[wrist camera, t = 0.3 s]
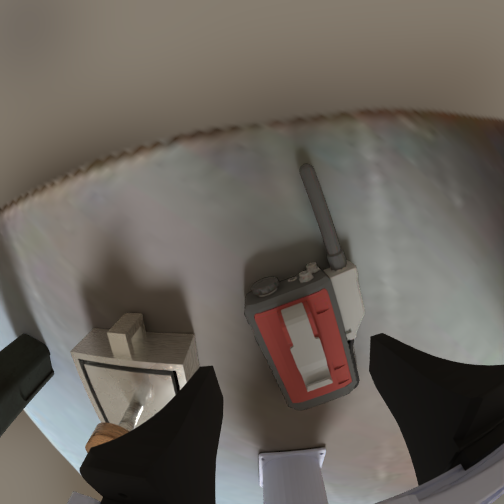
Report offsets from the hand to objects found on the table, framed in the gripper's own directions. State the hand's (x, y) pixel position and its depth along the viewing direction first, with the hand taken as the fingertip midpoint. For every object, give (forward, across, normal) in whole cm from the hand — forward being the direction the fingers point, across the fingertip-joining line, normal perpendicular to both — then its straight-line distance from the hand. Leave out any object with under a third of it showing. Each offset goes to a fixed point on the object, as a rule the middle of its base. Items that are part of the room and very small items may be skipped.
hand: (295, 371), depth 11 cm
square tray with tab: (+10, +13, +7) cm, 18 cm away
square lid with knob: (+7, +13, +7) cm, 16 cm away
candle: (+10, +29, +4) cm, 31 cm away
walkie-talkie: (+11, -2, +1) cm, 11 cm away
